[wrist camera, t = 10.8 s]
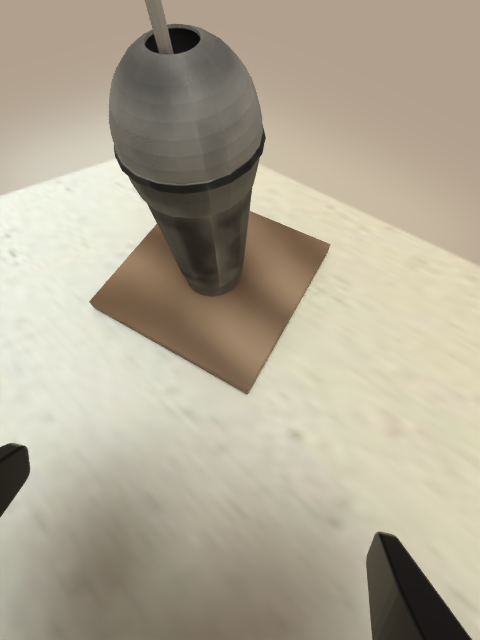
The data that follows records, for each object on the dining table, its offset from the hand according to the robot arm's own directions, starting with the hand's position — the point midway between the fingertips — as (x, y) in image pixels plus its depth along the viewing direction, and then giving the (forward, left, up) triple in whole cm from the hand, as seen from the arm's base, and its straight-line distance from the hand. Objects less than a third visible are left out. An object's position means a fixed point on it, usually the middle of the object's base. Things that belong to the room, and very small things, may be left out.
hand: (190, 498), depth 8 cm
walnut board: (+13, +9, -14) cm, 20 cm away
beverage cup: (+13, +9, -13) cm, 20 cm away
